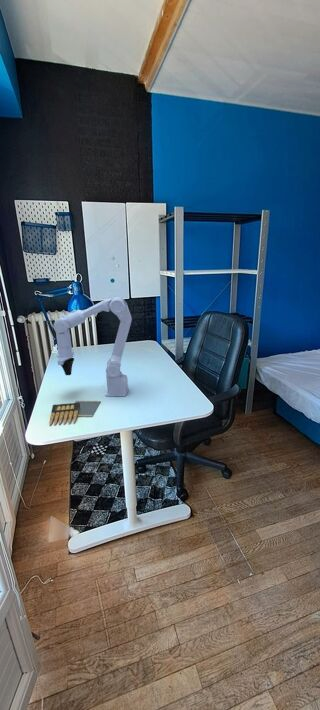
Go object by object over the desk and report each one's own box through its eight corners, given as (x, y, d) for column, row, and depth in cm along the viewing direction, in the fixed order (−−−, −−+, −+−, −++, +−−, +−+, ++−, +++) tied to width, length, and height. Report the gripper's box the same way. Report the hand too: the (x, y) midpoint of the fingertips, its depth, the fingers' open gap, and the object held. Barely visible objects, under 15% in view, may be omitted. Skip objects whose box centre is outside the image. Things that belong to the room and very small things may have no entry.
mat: (100, 401, 129) (100, 400, 129) (92, 417, 117) (92, 415, 117) (76, 401, 130) (76, 400, 130) (65, 416, 118) (65, 415, 118)
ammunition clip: (53, 408, 122) (47, 427, 111) (52, 404, 121) (47, 423, 111) (80, 406, 123) (77, 424, 113) (79, 402, 123) (76, 420, 112)
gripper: (61, 341, 136) (65, 369, 140) (48, 350, 122) (53, 381, 126) (76, 341, 136) (80, 369, 140) (65, 350, 122) (69, 381, 126)
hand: (68, 374), depth 133 cm, fingers closed
